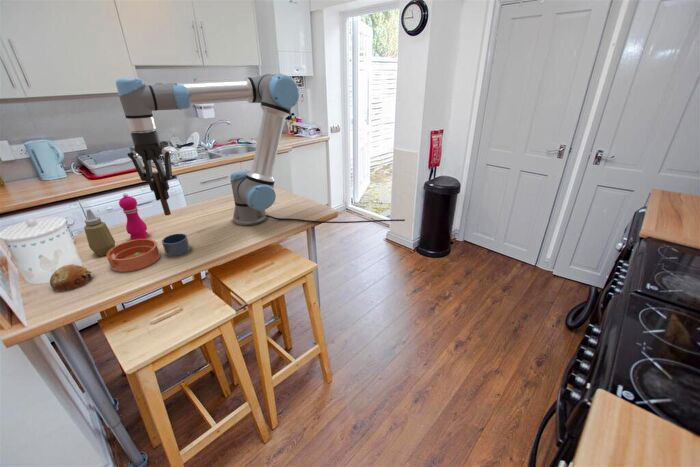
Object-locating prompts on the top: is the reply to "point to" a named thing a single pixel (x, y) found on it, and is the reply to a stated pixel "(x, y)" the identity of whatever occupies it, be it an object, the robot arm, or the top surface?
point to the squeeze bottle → (98, 235)
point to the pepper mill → (133, 218)
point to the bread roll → (69, 277)
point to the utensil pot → (176, 245)
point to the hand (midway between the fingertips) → (162, 198)
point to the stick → (163, 202)
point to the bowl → (124, 252)
